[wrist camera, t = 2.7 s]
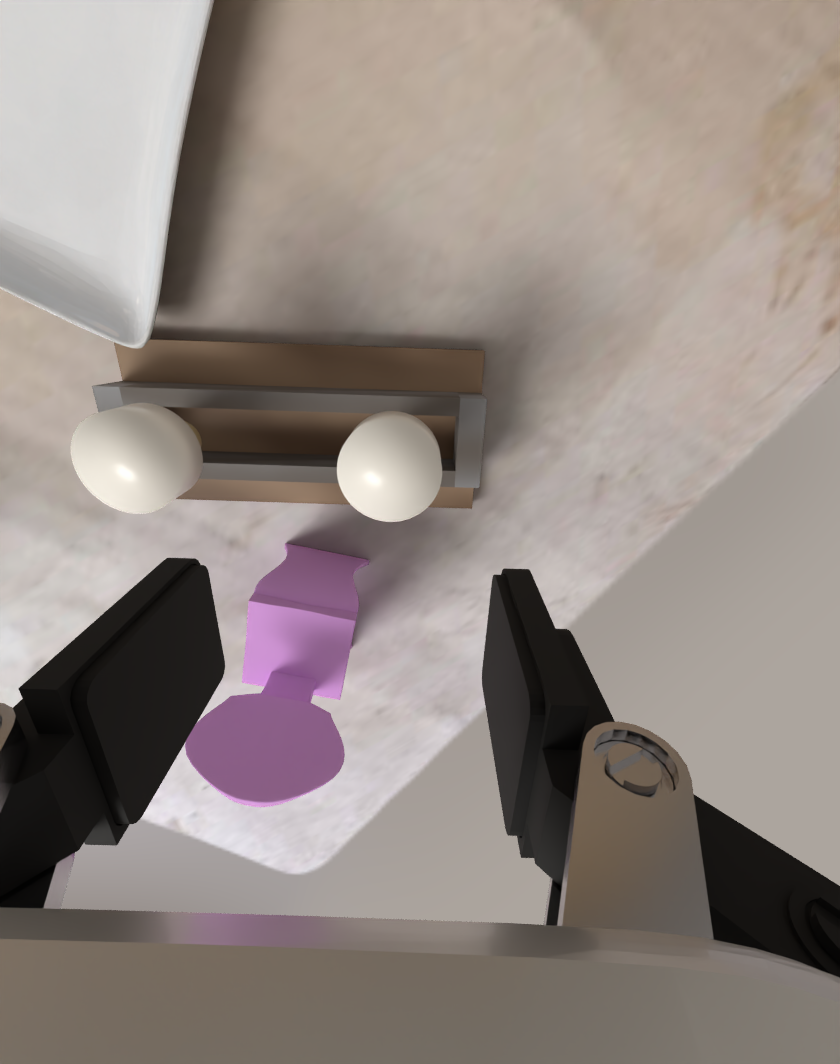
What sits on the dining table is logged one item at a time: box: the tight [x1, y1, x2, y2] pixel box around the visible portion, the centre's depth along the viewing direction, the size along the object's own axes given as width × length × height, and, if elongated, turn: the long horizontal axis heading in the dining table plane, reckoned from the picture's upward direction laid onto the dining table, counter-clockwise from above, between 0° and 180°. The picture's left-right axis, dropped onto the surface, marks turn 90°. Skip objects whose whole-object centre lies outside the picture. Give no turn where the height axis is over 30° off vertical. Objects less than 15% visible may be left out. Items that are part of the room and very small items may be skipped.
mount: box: [92, 339, 487, 508], centre depth 28 cm, size 10×22×4 cm, turn 88°
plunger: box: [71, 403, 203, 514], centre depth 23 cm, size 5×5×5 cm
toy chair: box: [185, 543, 369, 807], centre depth 28 cm, size 8×9×15 cm
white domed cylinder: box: [337, 411, 442, 522], centre depth 23 cm, size 5×5×5 cm
